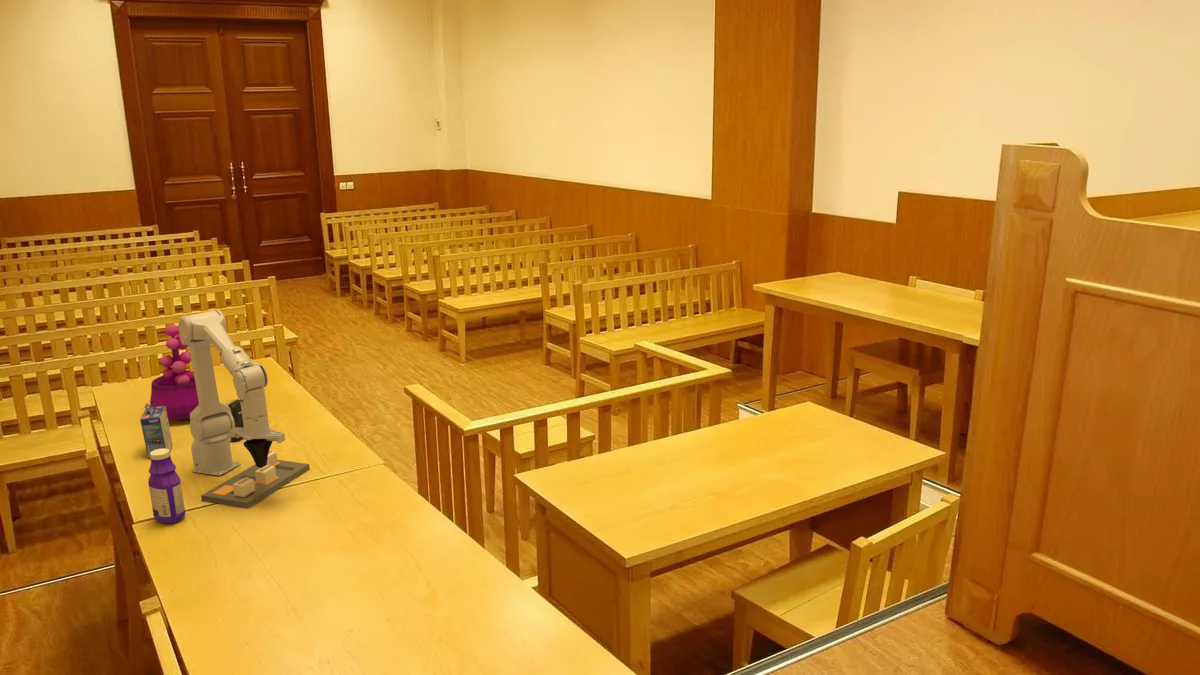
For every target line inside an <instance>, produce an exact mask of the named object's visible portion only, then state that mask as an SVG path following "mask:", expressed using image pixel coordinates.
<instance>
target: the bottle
mask: <svg viewBox="0 0 1200 675" xmlns="http://www.w3.org/2000/svg"><path fill="white" fill-rule="evenodd" d="M170 452H171V451H170ZM170 452H169V449H157V450H154V451H152V452H151V453H150V457H151V459H150V467H149V468H148V473H149V474H150V475H149V478H148V489H149V496H150V502H151V503H150V504H151V509H152V515H153V517H154V519H155V520H156V521H157V522H158V523H162V524H168V525H169V524H174V523H178V522H179V521H181V520H182V519H184V518H185V516H186V510H185V509H186V508H185V501H184V496H183V495H184V494H183V488H182V484H181V482H182V481H181V478H180V476H179V474H178V473H177V472H176V468H177V466H176V464H174V462H173V460H172V457H171V453H170Z"/></svg>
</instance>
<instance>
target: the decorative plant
mask: <svg viewBox="0 0 1200 675" xmlns="http://www.w3.org/2000/svg"><path fill="white" fill-rule="evenodd" d="M164 332H165V334H166V335H167V336H168V337H169V338H167V340H166V342H165V345H166V348H168V349H170V350H171V355H170V354H167V355H163V356H161V357H160V359H159V362H160V365H161V366H162V367H163V368H164V369H163V371H162V375H160V376H158V377H156V378H155V379H153V380H152V381H151V385H150V386H151V389H150V391H151V393H150V400H149V405H150V406H151V407H158V406H165V407H166V412H167V417H168V421H183V420H190V413H191V412H192V411H193V410H194V409H195V408H196V407H197V406H198V405H199V400H198V394H197V389H196V383H195V378H194V372H193V370H190V369H187V365H186V364H190V363H192V361H191V355H190V351H188V350H187V349H188V348H189V346H188V345H183V344H182V341H181V337H180V332H179V326H177V325H176V324H168V325H167V326H166V328H165V331H164ZM178 334H179V335H178ZM180 350H187V351H184V352H181V353H180Z"/></svg>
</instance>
